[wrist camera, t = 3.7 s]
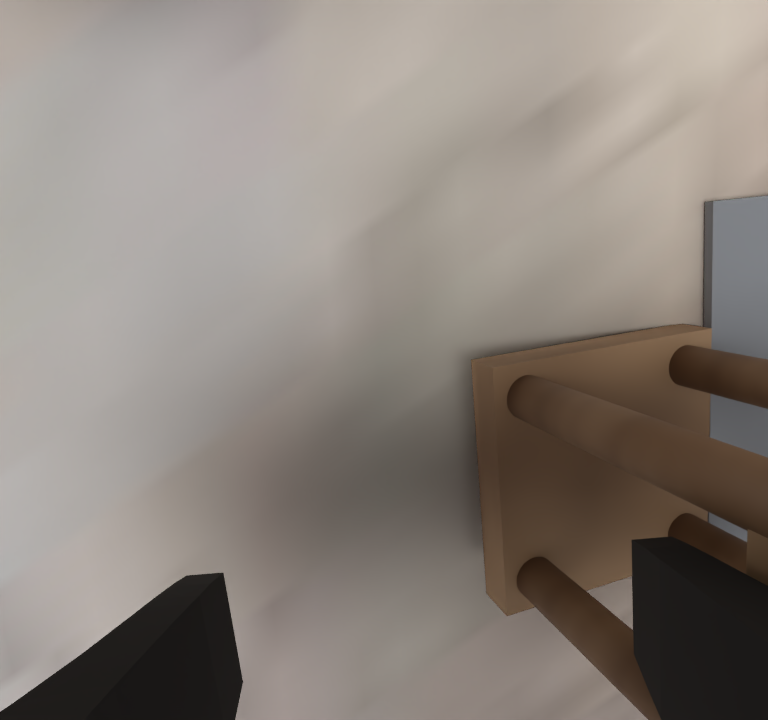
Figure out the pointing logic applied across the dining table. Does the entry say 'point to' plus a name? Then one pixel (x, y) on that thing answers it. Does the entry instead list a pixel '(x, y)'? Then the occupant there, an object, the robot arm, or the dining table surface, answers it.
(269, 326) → the dining table surface
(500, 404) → the stool
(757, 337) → the felt mat
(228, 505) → the dining table surface
